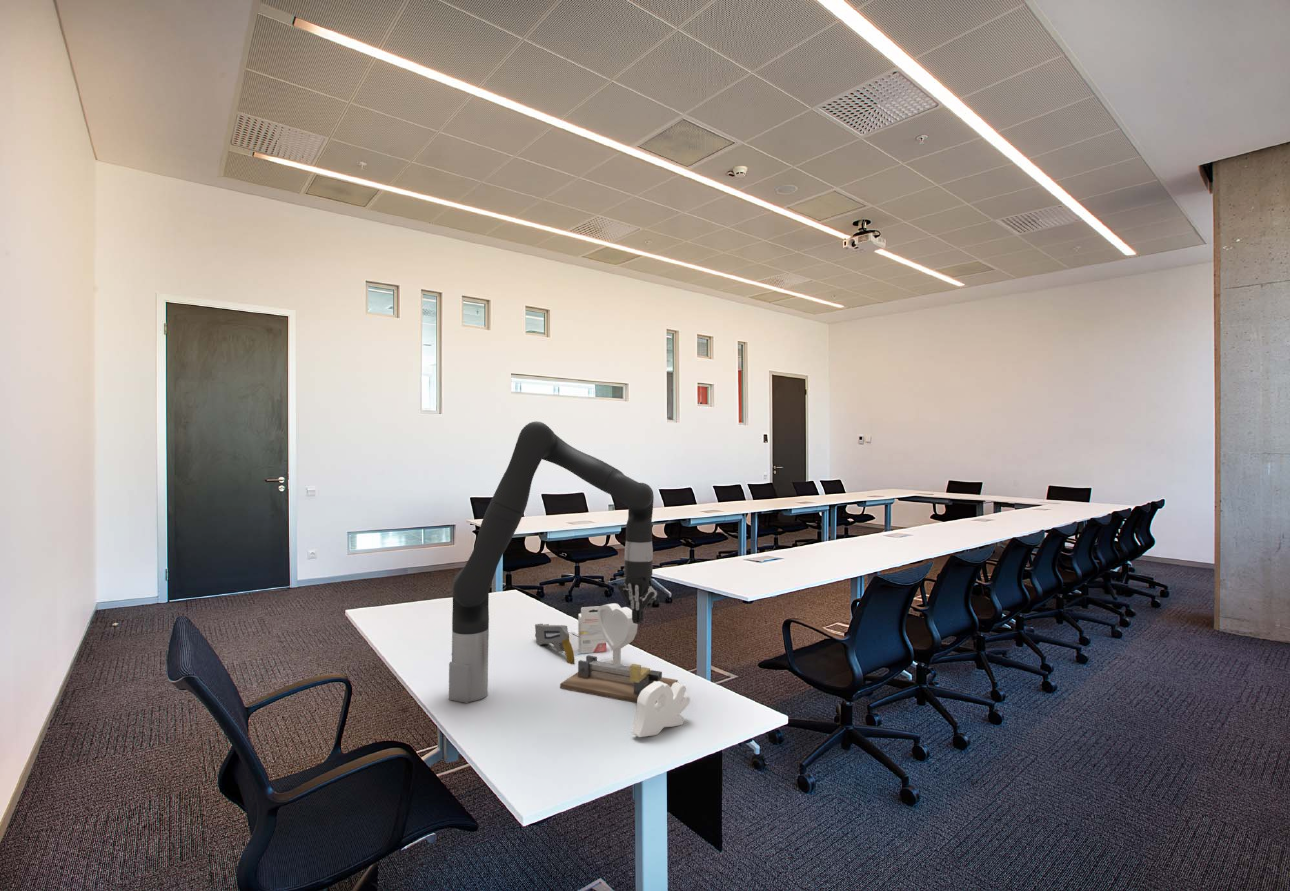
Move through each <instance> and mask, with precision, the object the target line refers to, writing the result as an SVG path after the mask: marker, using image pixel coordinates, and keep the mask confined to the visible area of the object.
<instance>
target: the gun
mask: <svg viewBox="0 0 1290 891" xmlns="http://www.w3.org/2000/svg"><path fill="white" fill-rule="evenodd" d="M534 627H535V628H534V629H535V635H534V637H535V642H536V644H537V645H538V646H543V645H549V644H552V645H553V648H554V649H556V652H557V653H562V652H564V653H565V657H566V662H567V664H571V665H572V664H575V661H576V660H575V654H574V649H573V647H572V643H571V642H570V633H569V630H568V625H565V624H557V625H556V624H549V623H535V625H534Z"/></svg>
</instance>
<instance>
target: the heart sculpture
mask: <svg viewBox="0 0 1290 891" xmlns="http://www.w3.org/2000/svg"><path fill="white" fill-rule="evenodd" d="M597 612H598V624H599V627H600V630H601V633H602V635H603V637H604V639H605V640H606V644H607V645H608V646H609V648H610V650H611V651H612V659H604V660H602V661H600V662H606V663H612V664H618V665H624V666H626V665H625V664H622V662H621V658H622V654H621V653H622V652H621V651H622V649H623V648H624V647H626V646H628V645H630V644H631V643H632V642H633V641H634V640H635V637H636V635H637V633H638V625H639V624H635V623H633V621H632V608H631V607H629V606H628V607H627V606H624V607H621V606H620V605H619V603H607V604H603V605H600V607H599V608H598V610H597Z"/></svg>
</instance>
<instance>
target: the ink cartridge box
mask: <svg viewBox="0 0 1290 891" xmlns="http://www.w3.org/2000/svg"><path fill="white" fill-rule="evenodd" d="M600 606H601V605H600ZM600 606H598V605H597V606H584V607H583V606H582V607H581V608H580V613H578V615H577V616H578V620H577V621H578V625H577V626H578V628H577V630H578V633H577V636H578V638H577V640H578V641H577V642H578V644H577V645H578V646H577V647H578V651H579V653H580V654H592V653H603V652H604V653H605V652H607V642H606V640H605V639H604V637H603V635H602V633H601V630H600V627H599V624H598V608H599V607H600ZM593 610H594V611H593ZM590 611H591V612H590Z"/></svg>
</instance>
